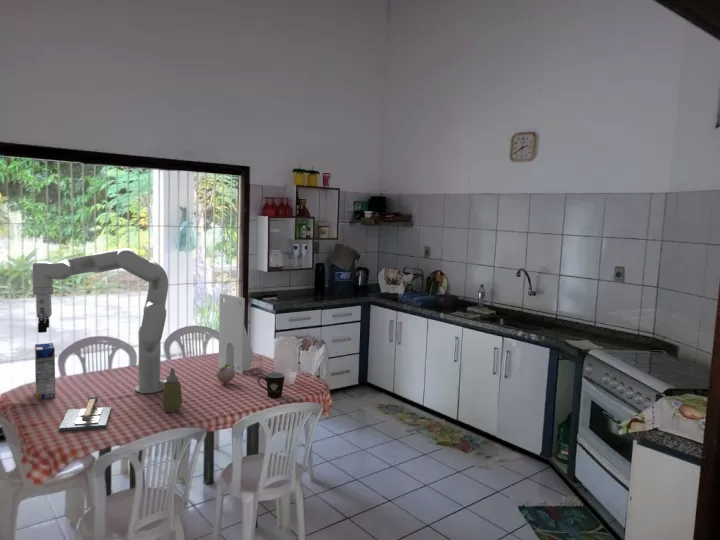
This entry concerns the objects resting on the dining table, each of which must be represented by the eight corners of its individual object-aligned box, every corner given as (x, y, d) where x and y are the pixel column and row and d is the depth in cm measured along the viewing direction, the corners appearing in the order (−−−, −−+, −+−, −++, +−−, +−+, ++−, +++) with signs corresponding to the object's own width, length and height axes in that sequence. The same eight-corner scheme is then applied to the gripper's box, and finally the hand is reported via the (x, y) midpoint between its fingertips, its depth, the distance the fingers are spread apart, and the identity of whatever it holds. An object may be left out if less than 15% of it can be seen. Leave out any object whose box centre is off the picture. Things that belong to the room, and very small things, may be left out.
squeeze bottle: (164, 406, 240) (165, 365, 238) (184, 407, 241) (184, 366, 239) (159, 413, 232) (159, 371, 230) (179, 414, 233) (180, 371, 231)
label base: (111, 407, 236) (111, 400, 236) (105, 428, 215) (105, 420, 214) (69, 410, 231) (69, 402, 231) (59, 432, 210) (58, 423, 209)
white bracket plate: (263, 369, 301) (265, 296, 297) (241, 374, 290) (243, 298, 286) (239, 362, 314) (241, 291, 310) (218, 366, 303) (219, 293, 299)
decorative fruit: (230, 387, 269) (230, 367, 268) (214, 386, 271) (214, 365, 270) (237, 381, 278) (238, 362, 277) (222, 380, 280) (222, 360, 279)
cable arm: (98, 399, 235) (98, 395, 235) (90, 421, 212) (90, 416, 212) (89, 400, 234) (89, 395, 234) (79, 422, 211) (79, 417, 211)
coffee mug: (287, 395, 262) (288, 374, 261) (277, 400, 254) (278, 378, 253) (266, 390, 267) (267, 370, 266) (256, 395, 259) (256, 374, 258)
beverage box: (37, 400, 241) (36, 350, 239) (35, 392, 251) (34, 344, 248) (55, 397, 245) (54, 348, 243) (53, 390, 254) (52, 343, 252)
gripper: (50, 293, 234) (51, 333, 236) (55, 287, 250) (55, 325, 252) (30, 293, 231) (31, 334, 233) (35, 287, 247) (36, 326, 249)
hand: (43, 329), depth 242 cm, fingers open, 9 cm apart
